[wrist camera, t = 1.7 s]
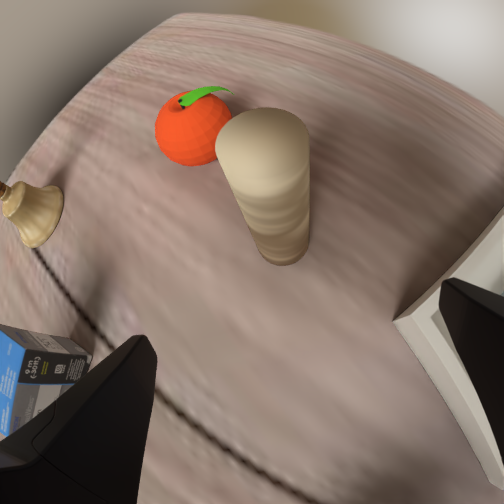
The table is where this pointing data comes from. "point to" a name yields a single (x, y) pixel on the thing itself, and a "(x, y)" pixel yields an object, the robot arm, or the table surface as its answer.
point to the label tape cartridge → (35, 373)
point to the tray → (443, 350)
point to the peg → (269, 179)
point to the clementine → (191, 126)
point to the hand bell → (32, 210)
